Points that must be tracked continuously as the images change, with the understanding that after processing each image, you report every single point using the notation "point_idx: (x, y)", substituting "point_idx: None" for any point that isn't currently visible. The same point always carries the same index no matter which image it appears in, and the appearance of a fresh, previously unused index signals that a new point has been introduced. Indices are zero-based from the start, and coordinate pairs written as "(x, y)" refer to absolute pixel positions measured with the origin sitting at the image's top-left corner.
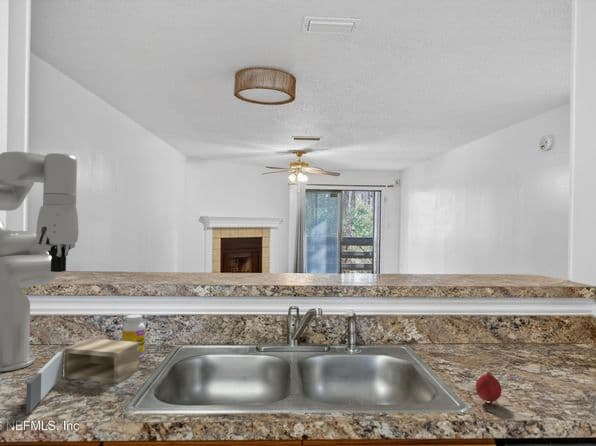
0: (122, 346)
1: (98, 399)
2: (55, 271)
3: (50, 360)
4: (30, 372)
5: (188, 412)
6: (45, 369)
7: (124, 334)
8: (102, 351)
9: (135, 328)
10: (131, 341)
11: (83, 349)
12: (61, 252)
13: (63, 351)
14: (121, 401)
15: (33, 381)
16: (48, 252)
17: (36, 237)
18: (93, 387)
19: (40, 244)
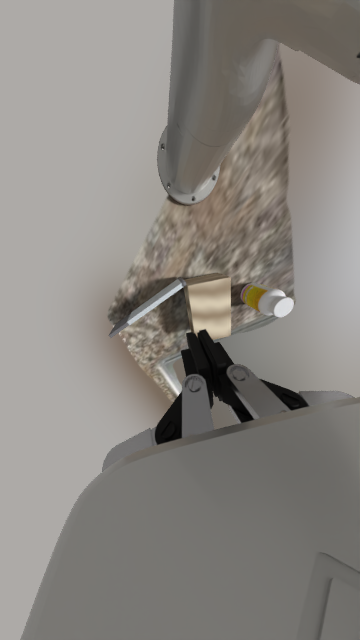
0: (213, 332)
1: (162, 338)
2: (188, 346)
3: (156, 301)
4: (179, 229)
5: (172, 386)
6: (138, 318)
7: (256, 298)
8: (194, 328)
9: (262, 312)
10: (251, 305)
11: (192, 308)
12: (232, 401)
13: (184, 286)
14: (166, 352)
15: (115, 334)
16: (170, 407)
17: (29, 618)
18: (176, 319)
19: (131, 454)
